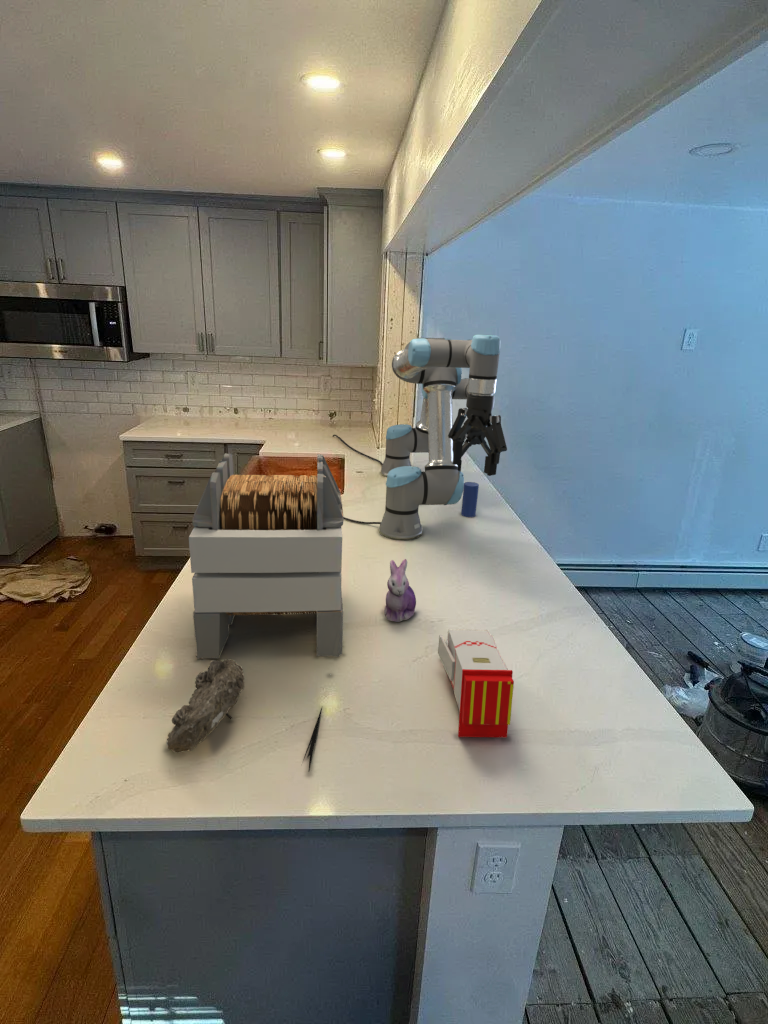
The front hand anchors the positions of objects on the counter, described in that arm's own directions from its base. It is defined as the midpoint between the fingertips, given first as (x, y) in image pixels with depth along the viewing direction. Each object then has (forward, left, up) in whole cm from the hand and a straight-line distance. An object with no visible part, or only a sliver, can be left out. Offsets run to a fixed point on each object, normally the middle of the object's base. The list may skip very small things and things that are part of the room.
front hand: (473, 469), depth 162 cm
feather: (+28, -72, -32) cm, 84 cm away
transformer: (-9, -60, -32) cm, 69 cm away
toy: (+40, -42, -32) cm, 67 cm away
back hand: (-34, +41, -16) cm, 55 cm away
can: (-34, +40, -32) cm, 62 cm away
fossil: (+15, -88, -32) cm, 95 cm away
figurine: (+7, -33, -32) cm, 47 cm away
